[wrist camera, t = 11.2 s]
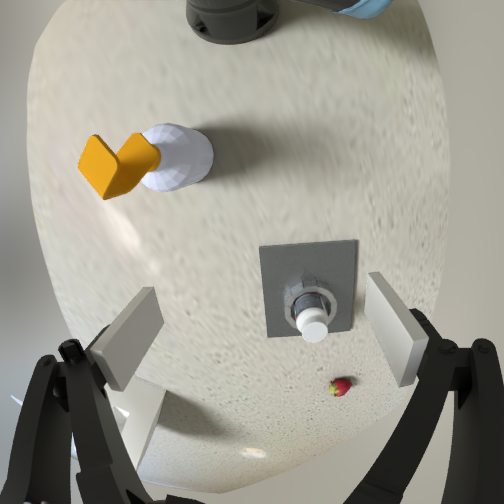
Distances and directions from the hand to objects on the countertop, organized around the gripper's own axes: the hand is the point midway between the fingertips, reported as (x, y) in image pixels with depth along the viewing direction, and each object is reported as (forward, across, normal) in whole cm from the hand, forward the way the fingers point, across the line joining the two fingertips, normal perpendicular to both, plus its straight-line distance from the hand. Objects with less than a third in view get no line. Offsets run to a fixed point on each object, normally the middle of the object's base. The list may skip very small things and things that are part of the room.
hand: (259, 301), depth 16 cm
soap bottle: (+29, -12, +10) cm, 33 cm away
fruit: (+29, +13, -39) cm, 50 cm away
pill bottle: (+28, +6, -17) cm, 33 cm away
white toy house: (+29, -40, -47) cm, 68 cm away
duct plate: (+28, +6, -15) cm, 33 cm away
